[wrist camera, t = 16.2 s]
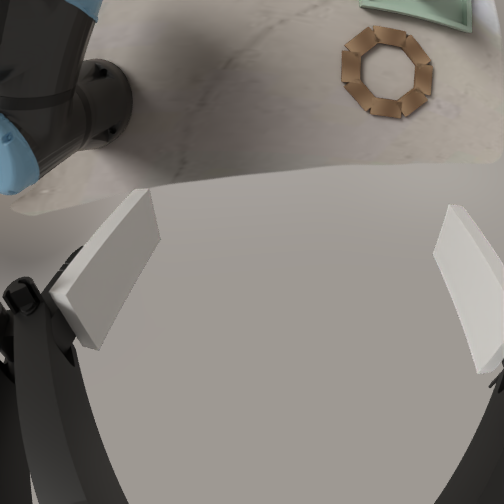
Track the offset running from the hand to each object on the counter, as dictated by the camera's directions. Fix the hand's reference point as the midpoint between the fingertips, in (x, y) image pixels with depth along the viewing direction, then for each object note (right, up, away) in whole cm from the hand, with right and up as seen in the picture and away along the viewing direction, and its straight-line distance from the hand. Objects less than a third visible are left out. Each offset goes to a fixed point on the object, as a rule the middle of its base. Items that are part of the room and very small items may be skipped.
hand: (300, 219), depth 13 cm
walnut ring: (+16, +23, +20) cm, 34 cm away
